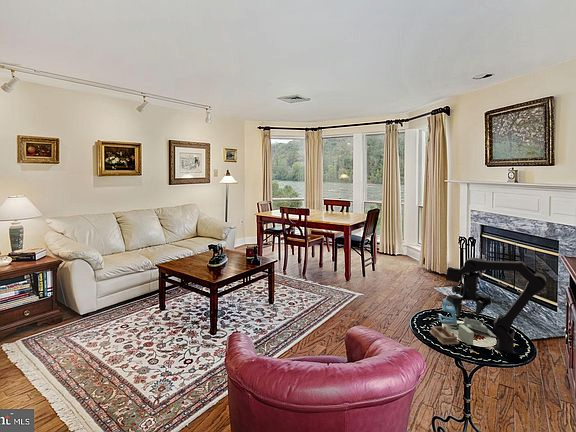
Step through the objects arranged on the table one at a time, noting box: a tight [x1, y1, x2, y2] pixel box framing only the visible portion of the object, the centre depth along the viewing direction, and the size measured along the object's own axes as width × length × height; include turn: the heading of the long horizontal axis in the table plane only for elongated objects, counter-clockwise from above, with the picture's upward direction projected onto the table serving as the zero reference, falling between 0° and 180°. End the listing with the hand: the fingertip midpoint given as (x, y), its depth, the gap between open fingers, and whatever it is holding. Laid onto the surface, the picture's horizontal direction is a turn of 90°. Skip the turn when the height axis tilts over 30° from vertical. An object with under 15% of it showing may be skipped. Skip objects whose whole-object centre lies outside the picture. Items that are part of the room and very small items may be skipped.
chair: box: [438, 297, 458, 324], centre depth 185 cm, size 8×8×12 cm
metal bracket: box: [461, 316, 497, 338], centre depth 176 cm, size 14×6×15 cm
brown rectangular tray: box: [429, 325, 460, 345], centre depth 166 cm, size 12×8×4 cm, turn 6°
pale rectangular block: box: [457, 324, 475, 346], centre depth 164 cm, size 8×3×6 cm, turn 6°
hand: (467, 316), depth 163 cm, fingers open, 9 cm apart
